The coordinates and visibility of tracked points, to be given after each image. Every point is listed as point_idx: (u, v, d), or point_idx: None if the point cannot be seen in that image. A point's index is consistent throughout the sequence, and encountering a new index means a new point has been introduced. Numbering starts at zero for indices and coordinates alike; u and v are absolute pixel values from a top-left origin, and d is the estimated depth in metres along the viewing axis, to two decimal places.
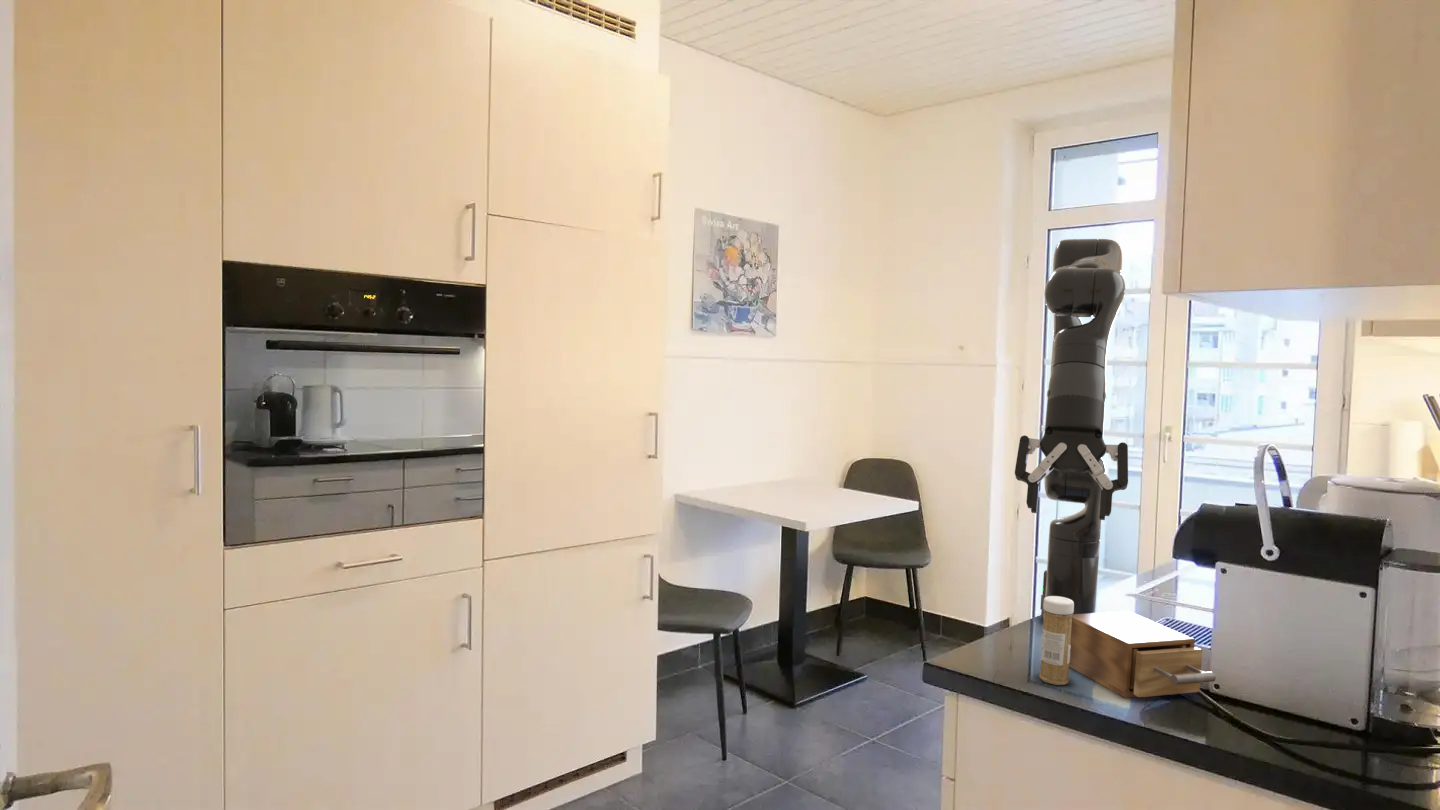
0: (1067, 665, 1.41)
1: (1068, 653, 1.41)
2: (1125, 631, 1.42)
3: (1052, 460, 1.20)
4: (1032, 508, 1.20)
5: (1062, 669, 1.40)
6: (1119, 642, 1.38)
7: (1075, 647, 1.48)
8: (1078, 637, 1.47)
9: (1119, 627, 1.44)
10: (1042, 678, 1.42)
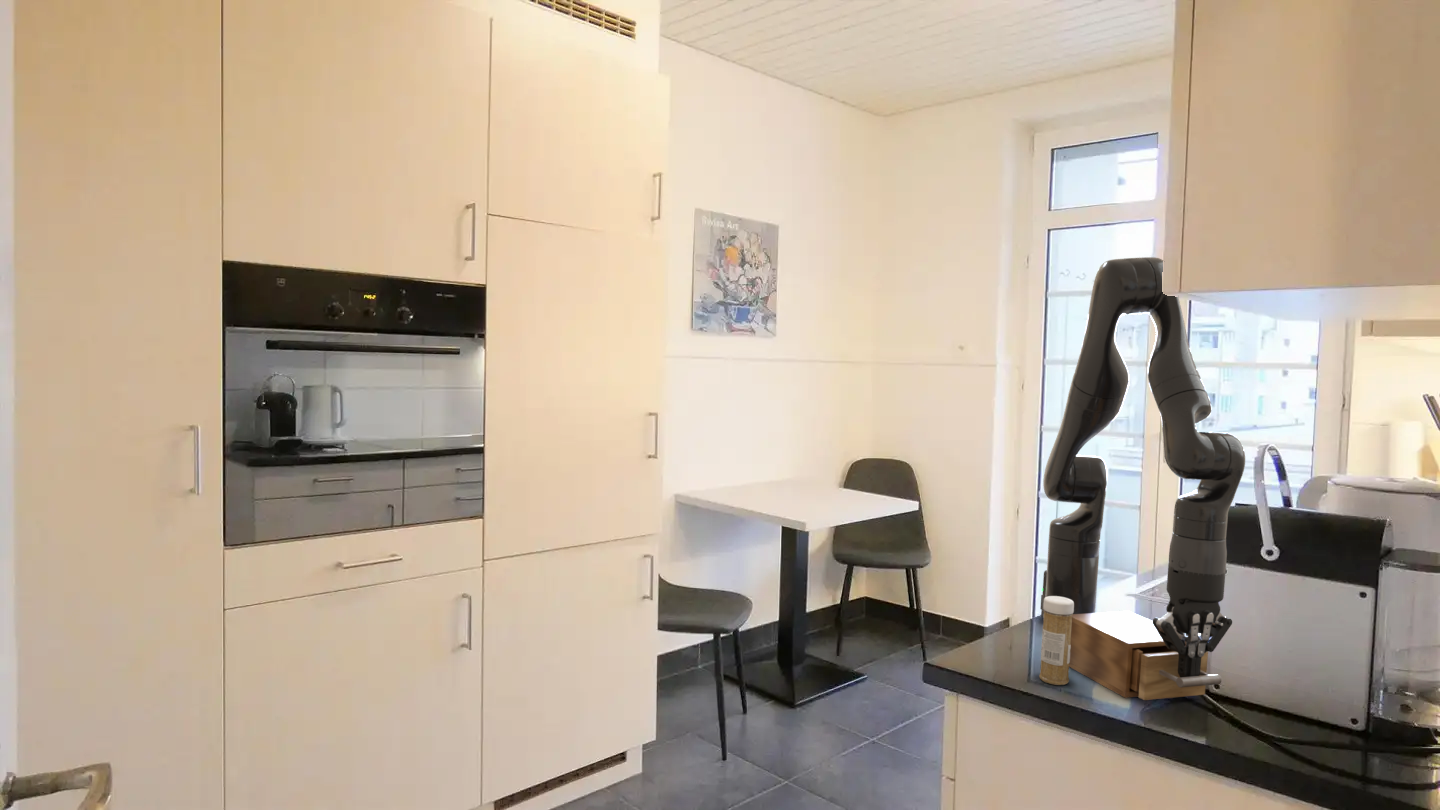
0: (1067, 665, 1.41)
1: (1068, 653, 1.41)
2: (1125, 631, 1.42)
3: (1196, 631, 1.30)
4: None
5: (1062, 669, 1.40)
6: (1119, 642, 1.38)
7: (1075, 647, 1.48)
8: (1078, 637, 1.47)
9: (1119, 627, 1.44)
10: (1042, 678, 1.42)
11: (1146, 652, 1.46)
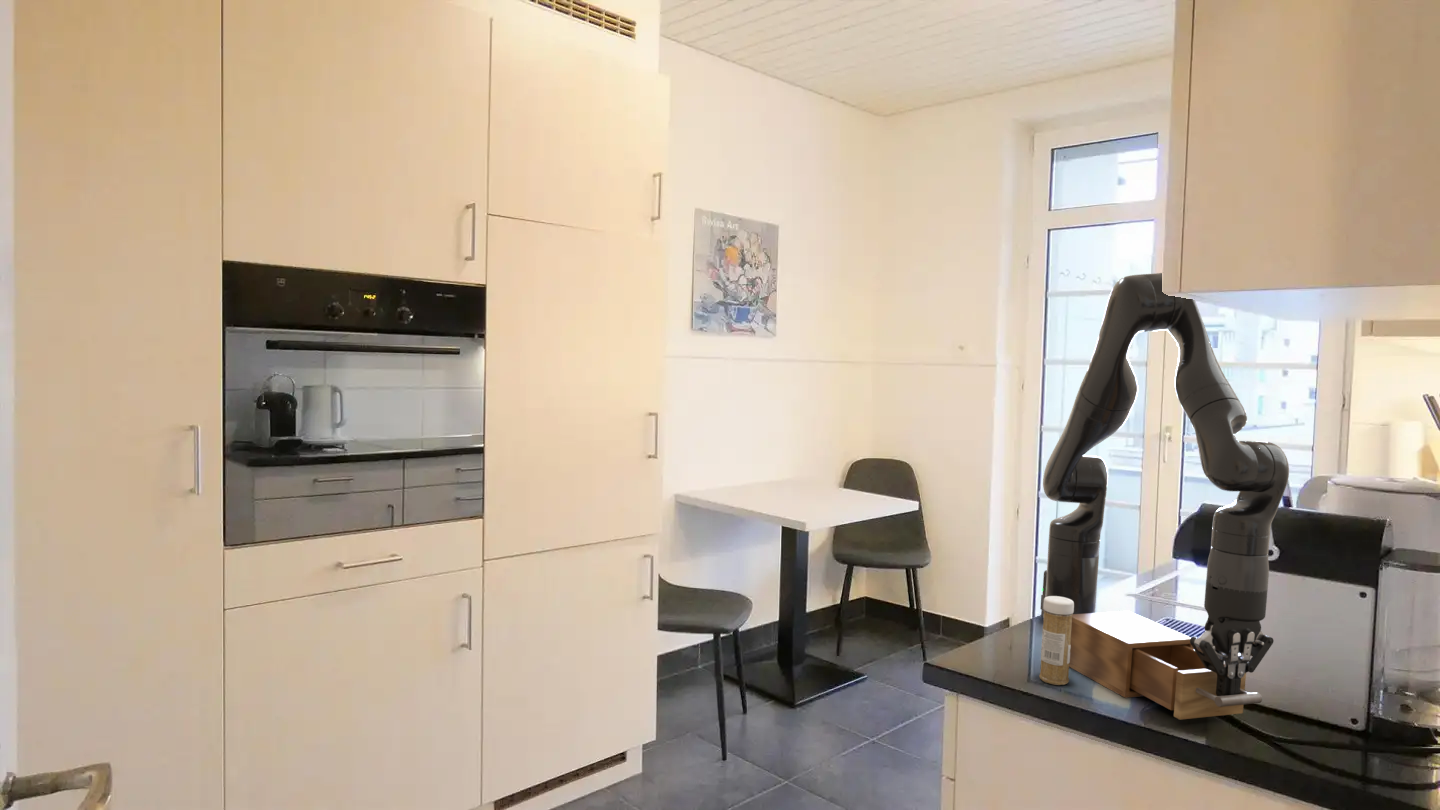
0: (1067, 665, 1.41)
1: (1068, 653, 1.41)
2: (1125, 631, 1.42)
3: (1237, 651, 1.23)
4: None
5: (1062, 669, 1.40)
6: (1119, 642, 1.38)
7: (1075, 647, 1.48)
8: (1078, 637, 1.47)
9: (1119, 627, 1.44)
10: (1042, 678, 1.42)
11: (1179, 667, 1.40)
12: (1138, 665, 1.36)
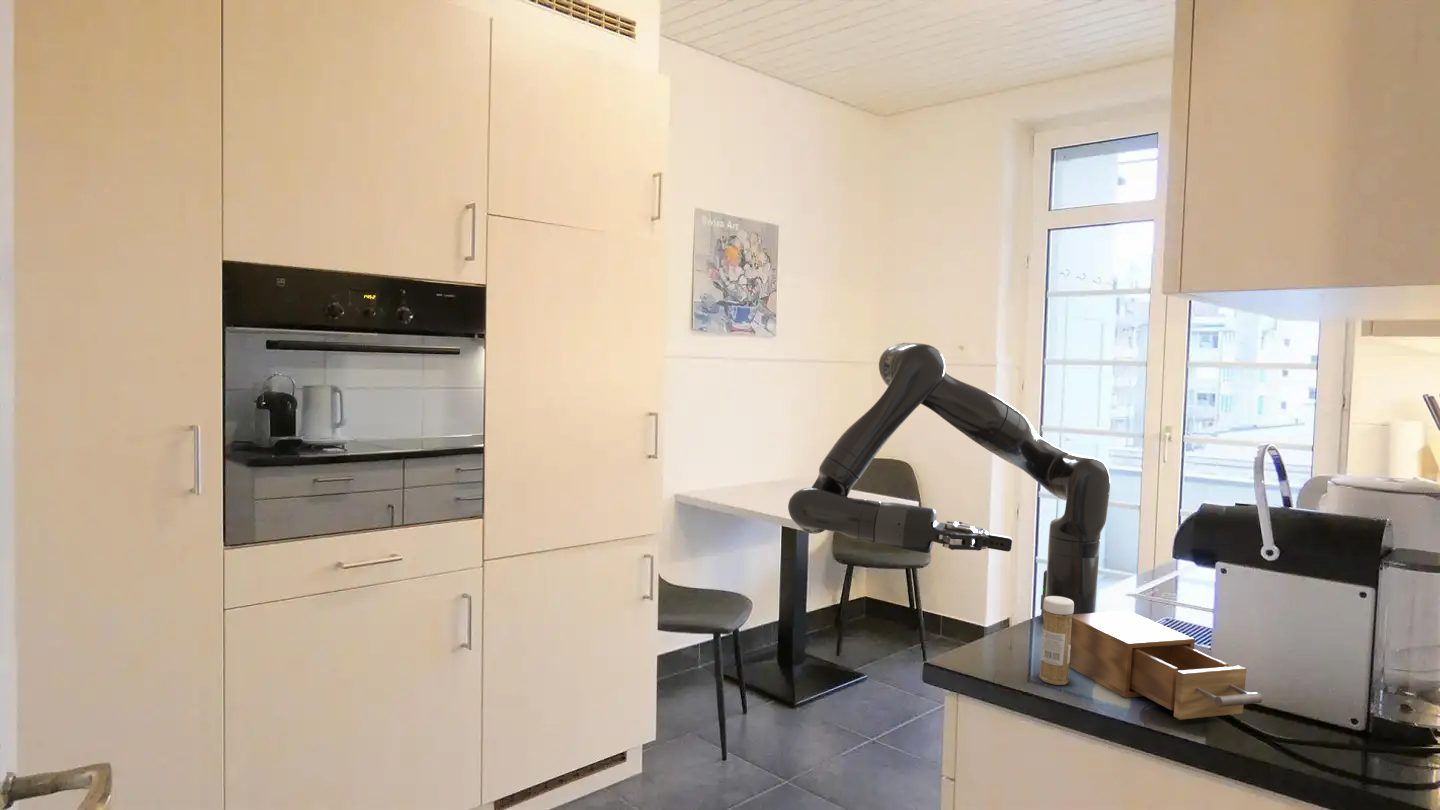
0: (1067, 665, 1.41)
1: (1068, 653, 1.41)
2: (1125, 631, 1.42)
3: None
4: None
5: (1062, 669, 1.40)
6: (1119, 642, 1.38)
7: (1075, 647, 1.48)
8: (1078, 637, 1.47)
9: (1119, 627, 1.44)
10: (1042, 678, 1.42)
11: (1179, 667, 1.40)
12: (1138, 665, 1.36)
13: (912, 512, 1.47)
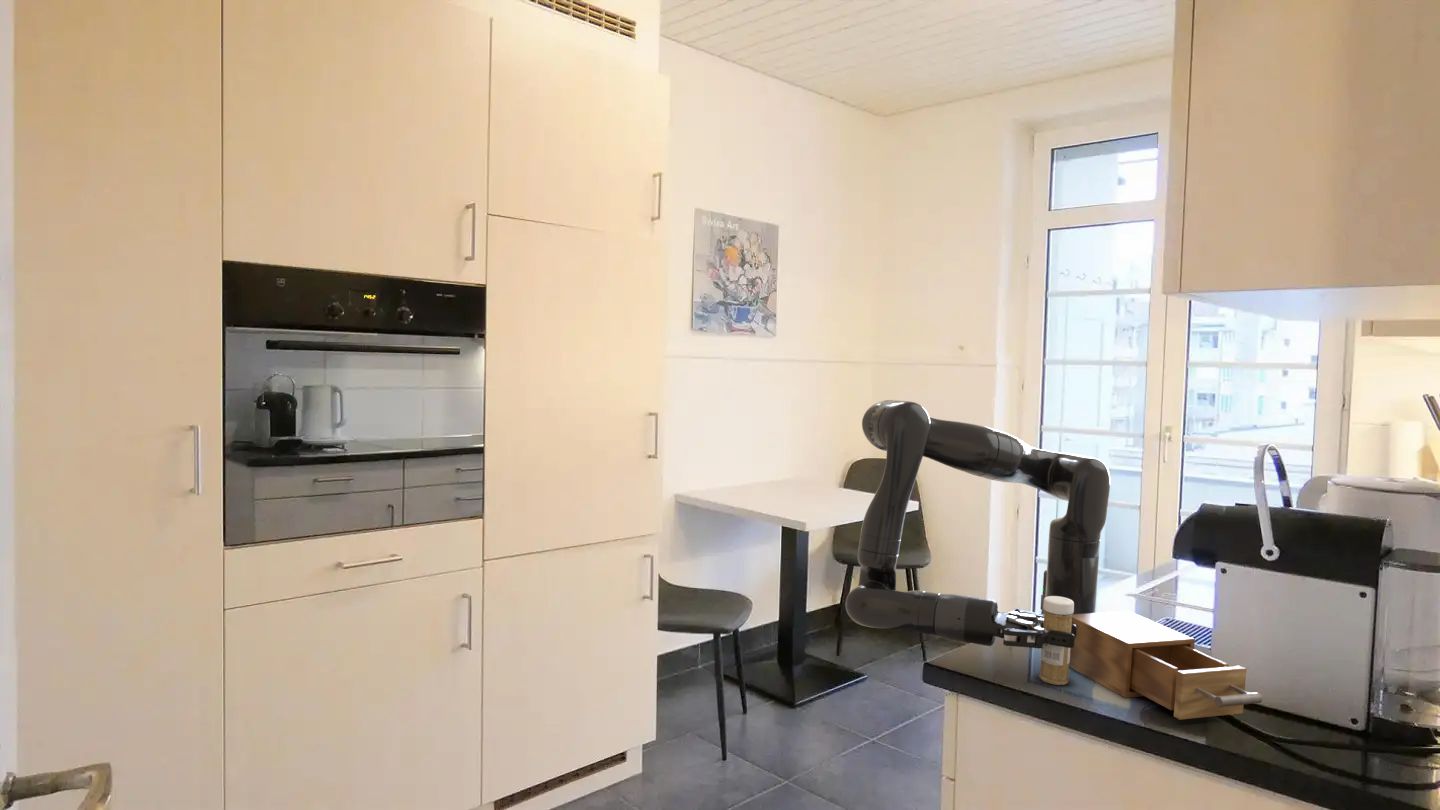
0: (1067, 665, 1.41)
1: (1068, 653, 1.41)
2: (1125, 631, 1.42)
3: None
4: None
5: (1061, 669, 1.40)
6: (1119, 642, 1.38)
7: (1075, 647, 1.48)
8: (1078, 637, 1.47)
9: (1119, 627, 1.44)
10: (1042, 678, 1.42)
11: (1179, 667, 1.40)
12: (1138, 665, 1.36)
13: (972, 605, 1.45)
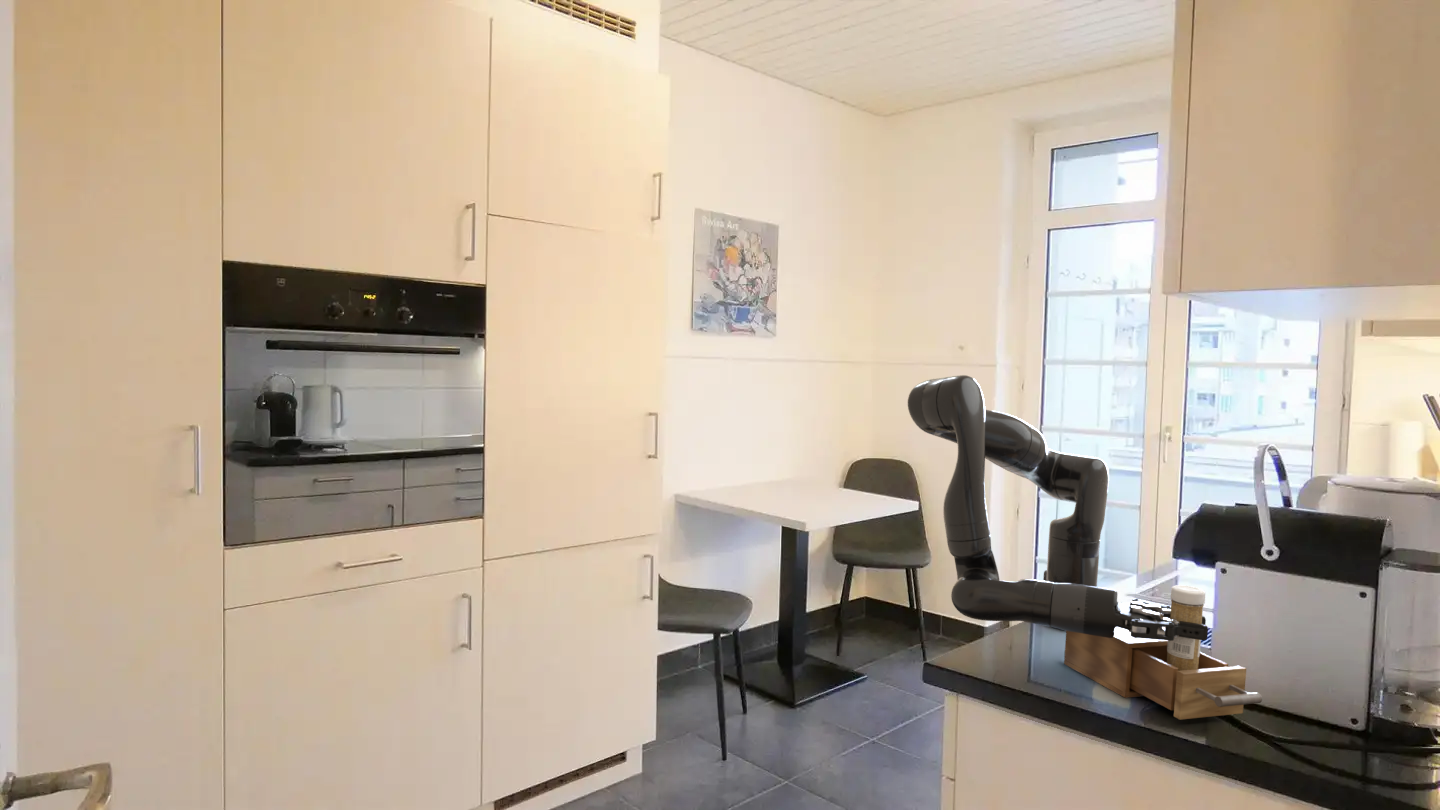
0: (1197, 659, 1.32)
1: (1199, 646, 1.32)
2: (1125, 631, 1.42)
3: None
4: None
5: (1192, 662, 1.32)
6: (1119, 642, 1.38)
7: (1075, 647, 1.48)
8: (1078, 637, 1.47)
9: None
10: None
11: None
12: (1138, 665, 1.36)
13: (1092, 595, 1.37)
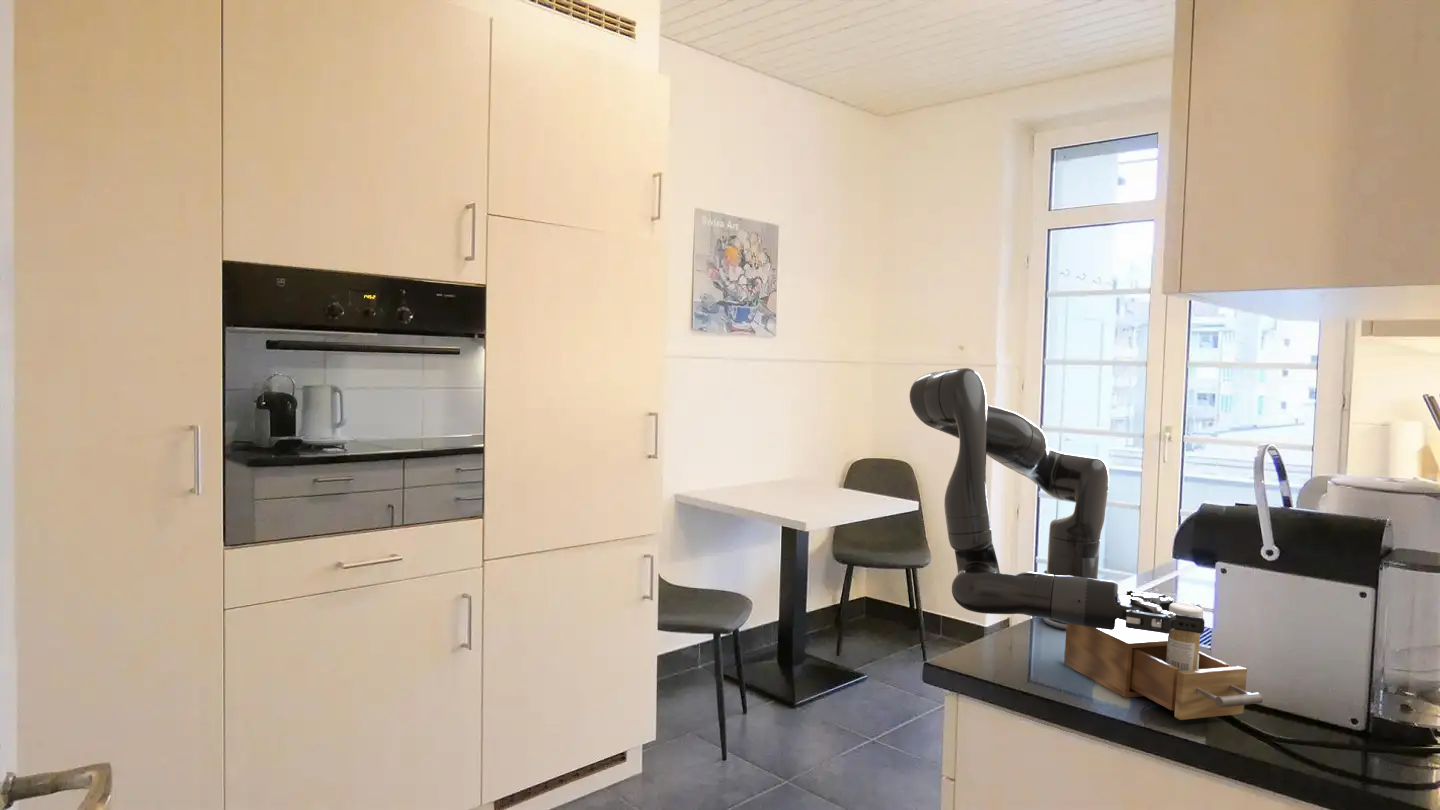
0: None
1: (1197, 663, 1.32)
2: (1125, 631, 1.42)
3: None
4: None
5: None
6: (1119, 642, 1.38)
7: (1075, 647, 1.48)
8: (1078, 637, 1.47)
9: (1119, 627, 1.44)
10: None
11: None
12: (1139, 665, 1.36)
13: (1092, 587, 1.37)
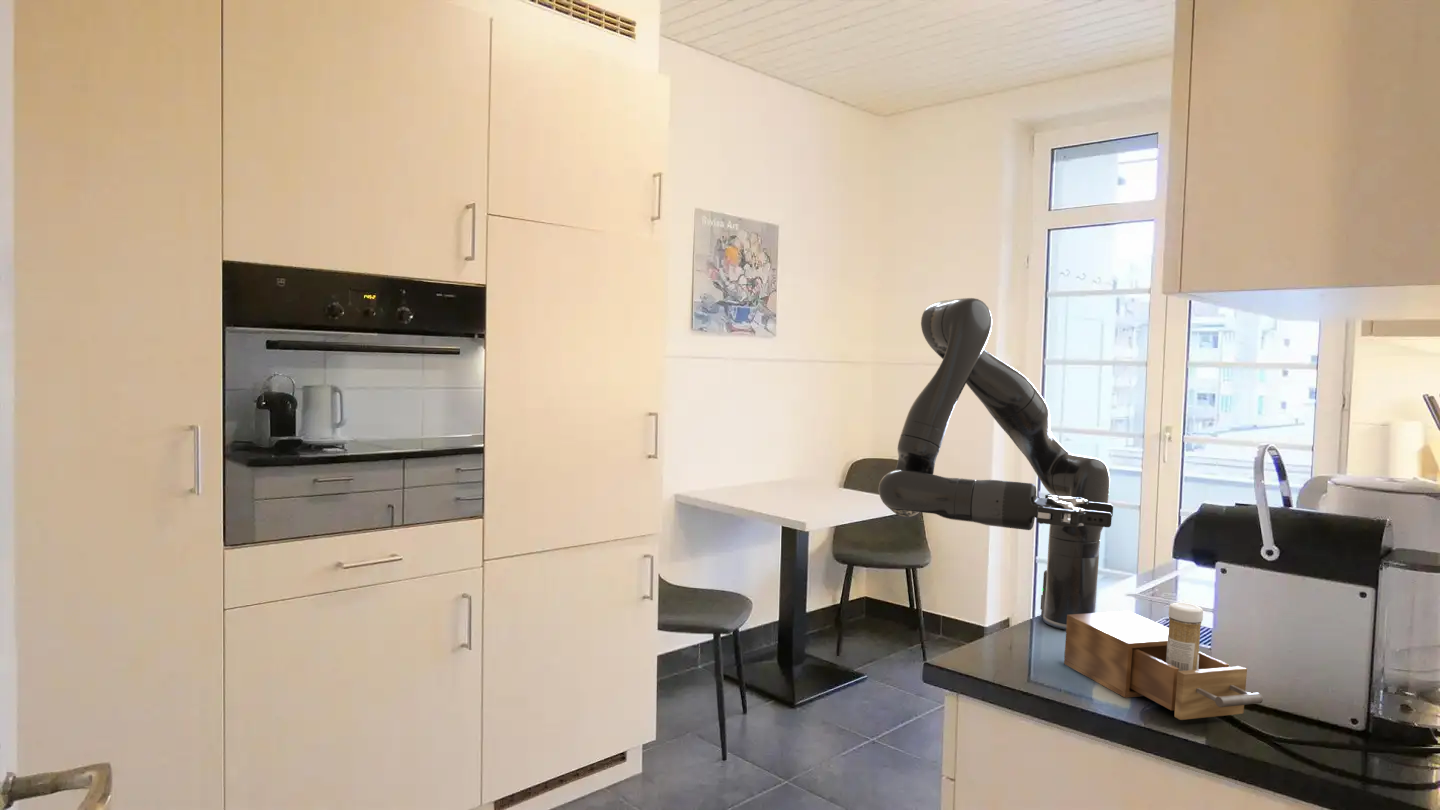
0: None
1: (1197, 663, 1.32)
2: (1125, 631, 1.42)
3: None
4: None
5: None
6: (1119, 642, 1.38)
7: (1075, 647, 1.48)
8: (1078, 637, 1.47)
9: (1119, 627, 1.44)
10: None
11: None
12: (1139, 665, 1.36)
13: (1010, 488, 1.41)
